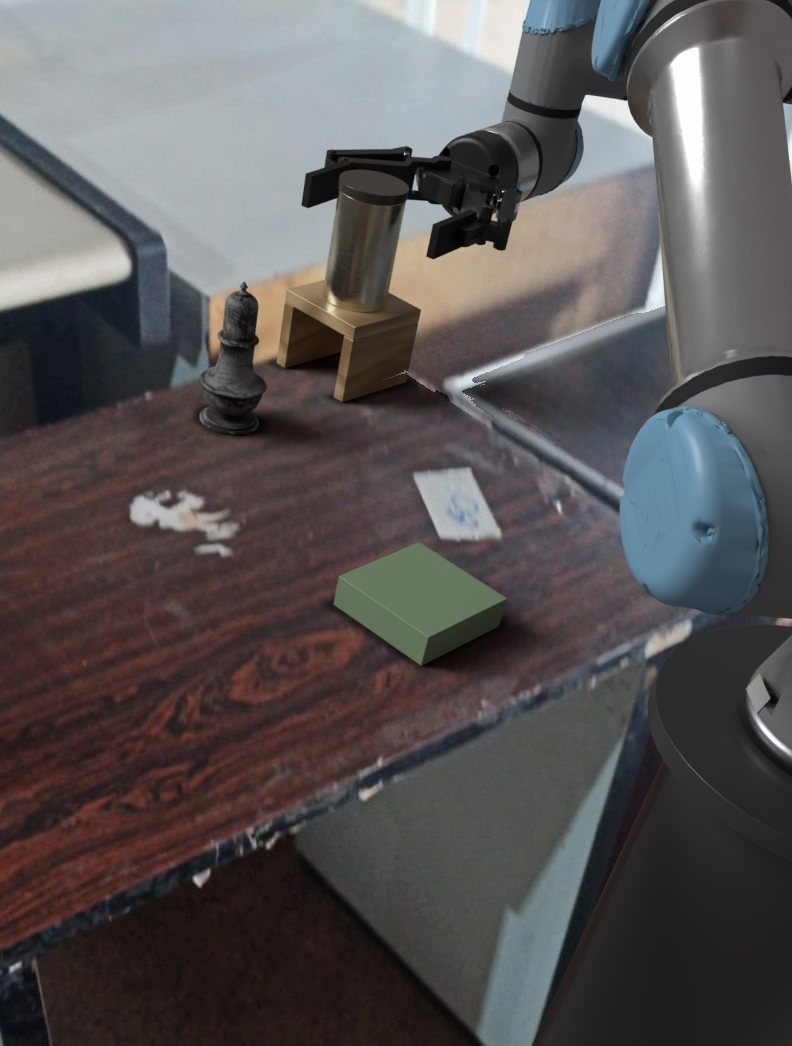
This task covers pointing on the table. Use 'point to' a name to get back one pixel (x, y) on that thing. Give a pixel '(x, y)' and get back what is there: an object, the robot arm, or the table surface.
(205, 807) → the table surface
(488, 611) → the green flat square block
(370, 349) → the wooden arch stand
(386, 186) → the tin
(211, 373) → the salt shaker
